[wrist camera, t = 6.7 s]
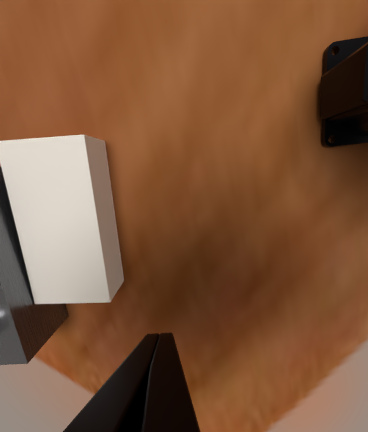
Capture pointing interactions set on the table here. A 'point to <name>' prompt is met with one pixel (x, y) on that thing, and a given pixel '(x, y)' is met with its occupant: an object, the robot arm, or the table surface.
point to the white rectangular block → (64, 217)
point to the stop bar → (20, 297)
